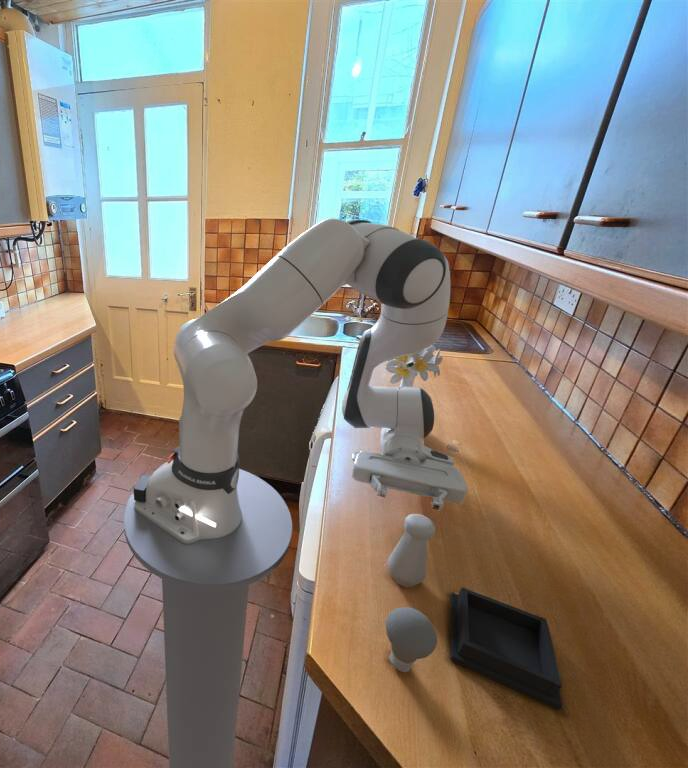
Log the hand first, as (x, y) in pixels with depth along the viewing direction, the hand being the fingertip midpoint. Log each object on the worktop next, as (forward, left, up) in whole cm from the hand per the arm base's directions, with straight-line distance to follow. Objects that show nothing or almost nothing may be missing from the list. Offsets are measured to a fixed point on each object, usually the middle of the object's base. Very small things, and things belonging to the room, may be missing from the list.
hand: (408, 500), depth 77 cm
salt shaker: (+2, -11, -8) cm, 14 cm away
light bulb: (+2, -28, -8) cm, 29 cm away
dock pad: (+15, -17, -8) cm, 24 cm away
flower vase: (-4, +44, -8) cm, 45 cm away
